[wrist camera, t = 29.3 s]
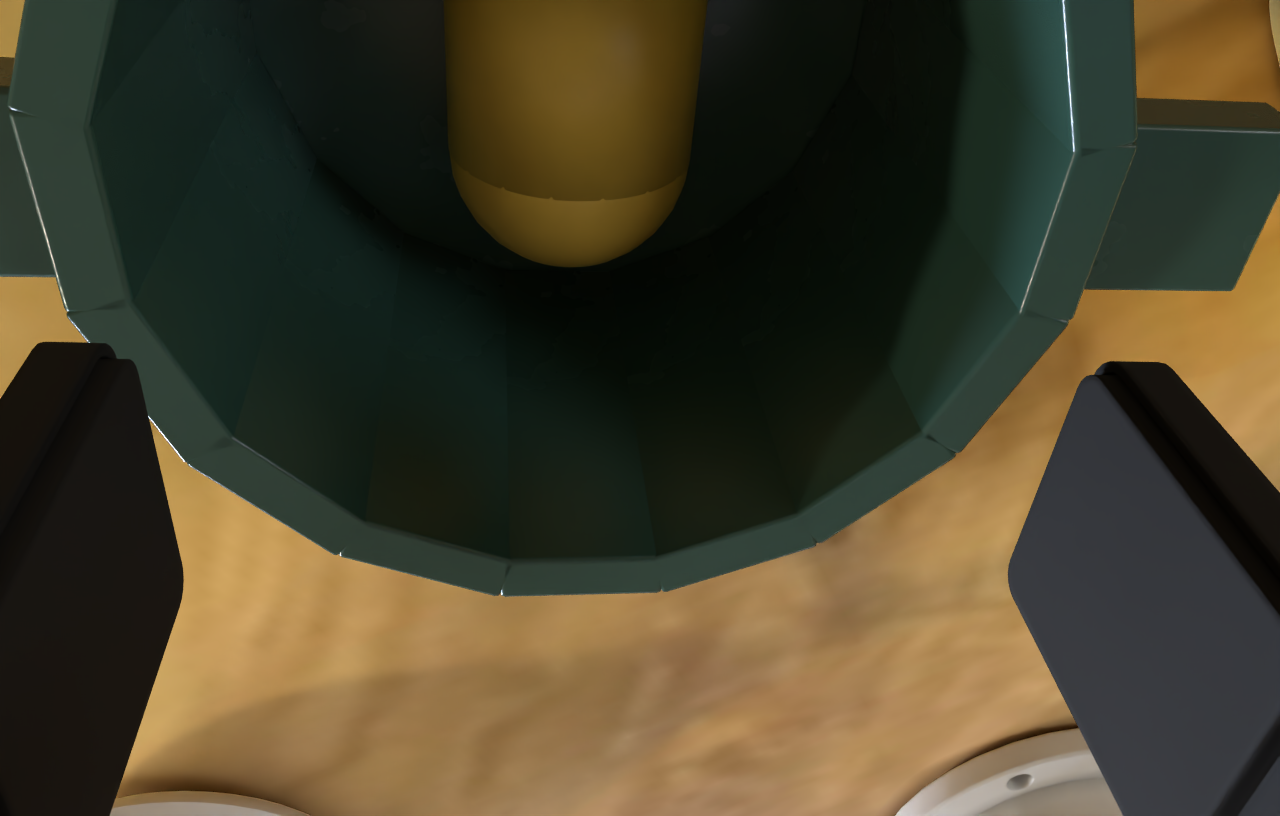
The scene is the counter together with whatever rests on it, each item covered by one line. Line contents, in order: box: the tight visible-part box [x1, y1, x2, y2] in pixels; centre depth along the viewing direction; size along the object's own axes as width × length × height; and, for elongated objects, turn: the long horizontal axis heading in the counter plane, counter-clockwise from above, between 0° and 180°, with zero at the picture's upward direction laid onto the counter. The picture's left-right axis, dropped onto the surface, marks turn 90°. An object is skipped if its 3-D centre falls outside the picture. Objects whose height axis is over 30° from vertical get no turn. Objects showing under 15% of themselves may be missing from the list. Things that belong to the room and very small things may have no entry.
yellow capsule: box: [444, 0, 708, 267], centre depth 18 cm, size 8×4×4 cm, turn 176°
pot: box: [0, 0, 1280, 597], centre depth 16 cm, size 13×18×9 cm
